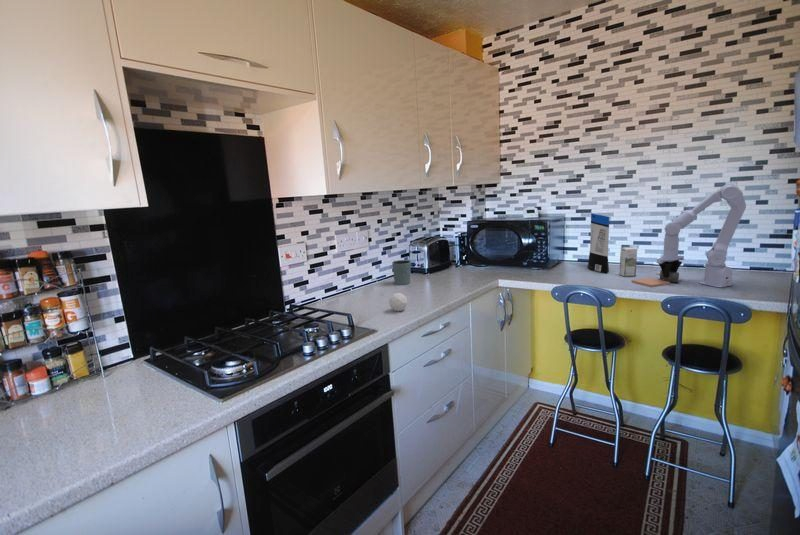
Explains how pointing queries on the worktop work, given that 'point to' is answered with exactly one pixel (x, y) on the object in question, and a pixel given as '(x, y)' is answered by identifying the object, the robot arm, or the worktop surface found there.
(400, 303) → the ball
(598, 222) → the protein powder
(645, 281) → the terracotta trivet
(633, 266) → the syrup box
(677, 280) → the charger plug
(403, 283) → the green cup
